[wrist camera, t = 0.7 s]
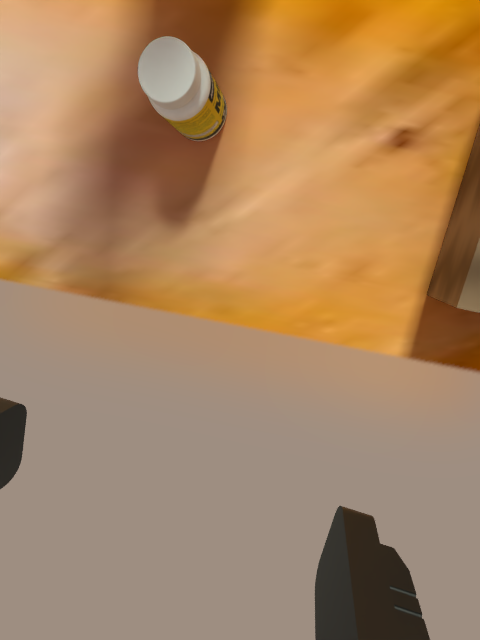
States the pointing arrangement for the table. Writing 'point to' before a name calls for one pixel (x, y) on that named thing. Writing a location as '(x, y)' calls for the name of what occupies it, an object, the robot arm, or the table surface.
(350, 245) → the table surface
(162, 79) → the supplement bottle
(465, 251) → the brown wooden block
